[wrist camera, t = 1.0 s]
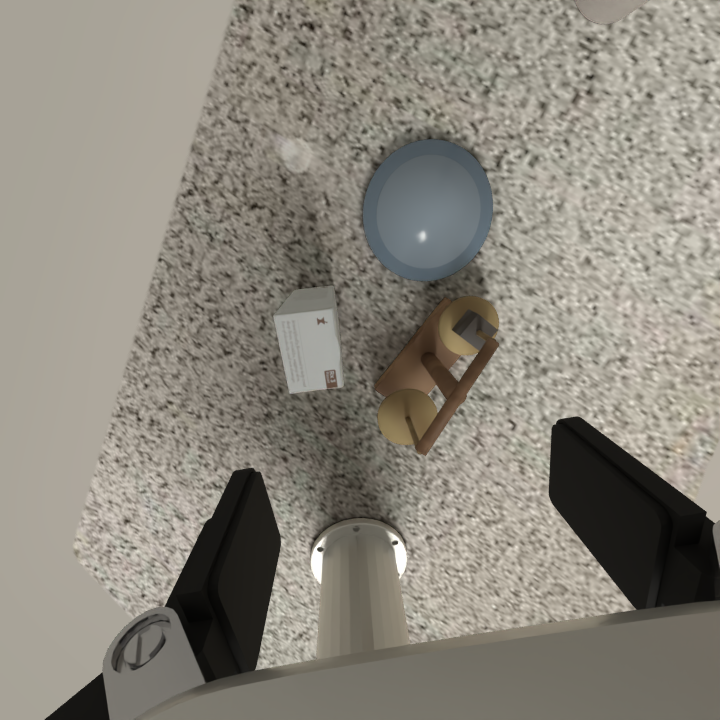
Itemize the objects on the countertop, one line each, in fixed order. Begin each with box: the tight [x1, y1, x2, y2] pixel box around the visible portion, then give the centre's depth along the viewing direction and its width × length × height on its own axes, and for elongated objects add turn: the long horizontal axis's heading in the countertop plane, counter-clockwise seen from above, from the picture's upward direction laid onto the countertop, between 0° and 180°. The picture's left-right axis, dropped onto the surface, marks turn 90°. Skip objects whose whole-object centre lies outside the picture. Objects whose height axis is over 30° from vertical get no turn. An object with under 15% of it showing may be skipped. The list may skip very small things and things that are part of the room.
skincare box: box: [273, 286, 344, 394], centre depth 29 cm, size 6×4×12 cm
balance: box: [374, 296, 499, 456], centre depth 31 cm, size 16×6×12 cm, turn 144°
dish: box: [363, 139, 493, 281], centre depth 32 cm, size 12×12×1 cm
